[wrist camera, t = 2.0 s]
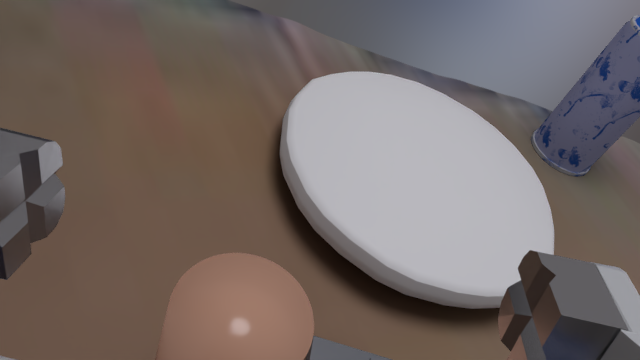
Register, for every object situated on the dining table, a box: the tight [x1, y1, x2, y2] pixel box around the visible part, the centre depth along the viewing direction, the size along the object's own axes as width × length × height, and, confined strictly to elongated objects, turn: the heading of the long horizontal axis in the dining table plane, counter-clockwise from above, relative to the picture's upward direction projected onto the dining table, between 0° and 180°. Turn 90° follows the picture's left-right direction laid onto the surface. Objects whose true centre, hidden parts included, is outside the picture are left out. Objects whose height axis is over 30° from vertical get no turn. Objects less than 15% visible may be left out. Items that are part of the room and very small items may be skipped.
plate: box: [280, 72, 554, 309], centre depth 50 cm, size 28×6×27 cm
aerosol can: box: [531, 15, 640, 177], centre depth 59 cm, size 8×8×20 cm
